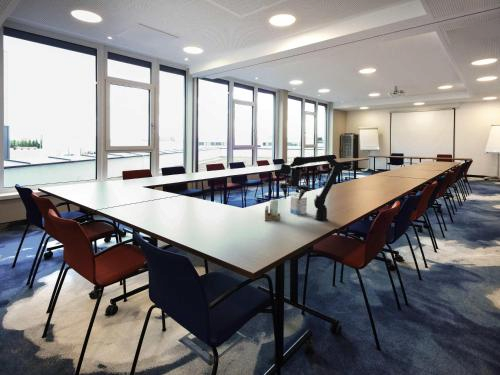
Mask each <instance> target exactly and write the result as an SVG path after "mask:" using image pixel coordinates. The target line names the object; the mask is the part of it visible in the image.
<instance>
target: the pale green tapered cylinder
mask: <svg viewBox="0 0 500 375" xmlns="http://www.w3.org/2000/svg"><path fill="white" fill-rule="evenodd" d="M278 208H279V200H278V199H270V200H269V213H270V216H278V212H279V211H278V210H279V209H278Z"/></svg>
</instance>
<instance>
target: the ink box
mask: <svg viewBox="0 0 500 375" xmlns="http://www.w3.org/2000/svg"><path fill="white" fill-rule="evenodd" d="M299 195H300V193H293V194H292V195H290V208H289V209H290V210H289V212H290V213H291V214H294V215H296V214H297V215H305V213H306V214H307V210H308V209H307V204H308V197H307V196H305V195H303V196H302V197H301V199H300V201H298V200H299Z"/></svg>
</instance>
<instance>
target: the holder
mask: <svg viewBox="0 0 500 375" xmlns="http://www.w3.org/2000/svg"><path fill="white" fill-rule="evenodd" d="M279 220H280V221H281V213H280V212H279V213H278V216H270V212H269V205H265V208H264V221H265V222H268V221H279Z"/></svg>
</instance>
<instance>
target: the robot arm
mask: <svg viewBox="0 0 500 375" xmlns="http://www.w3.org/2000/svg"><path fill="white" fill-rule="evenodd" d="M322 162H323V163H324V162H328V163H329V164H330V165H331V166H332V169H331V172H330V175H329V177H328V179H327V181H326V183H325V185H324V186H323V188H322V190H321V193H320V194H319V195H318V194H316V195H315V198H314V199H313V201H314V202H313V203H314V204H313V205H314V207H315V209H316V213H315V218H314V220H315V221H319V222H325V221H329V218H328V208H327V206H326V205H325V203H326V200H327V197H328V194H329V192H330V190H331V189H332V186H333V185H334V183H335V181H336V179H337V178H338V177H339V176H340V175H341V173H342V172H343V170H344V168H345V165H344V164H343V163H342V162H341V161H338V160H336V159H334V158H333V157H332V156H331V155H330V154H325V155H317V156H315V155H314V156H308V157H307V156H296V157H294V158H293V162H291V163H290V164H286V163H281V165H280V170H279V175H285V176H289V175H290V178H289V177H286V178H285V182H279V183H278V187H279V188H280V189H281V190H282V193H283V197H284V198H283V199H284V200H286V199H287V192H288V190H287V188H288V189H295V190H296V189H297V190H298V189H299V194H300V195H298V196H299V200H298V201H300V199H301V197H302V196H305V193H307V192H310V187H309V186H308V185H306V184H305V185H303V184H302V185H300V181H301V173H302V171H304V170H305V168H304V167H303V165H307V164H313V163H322Z"/></svg>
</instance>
